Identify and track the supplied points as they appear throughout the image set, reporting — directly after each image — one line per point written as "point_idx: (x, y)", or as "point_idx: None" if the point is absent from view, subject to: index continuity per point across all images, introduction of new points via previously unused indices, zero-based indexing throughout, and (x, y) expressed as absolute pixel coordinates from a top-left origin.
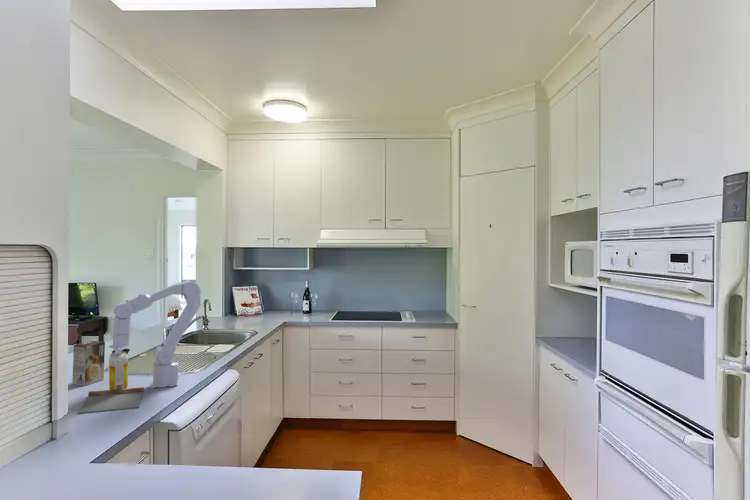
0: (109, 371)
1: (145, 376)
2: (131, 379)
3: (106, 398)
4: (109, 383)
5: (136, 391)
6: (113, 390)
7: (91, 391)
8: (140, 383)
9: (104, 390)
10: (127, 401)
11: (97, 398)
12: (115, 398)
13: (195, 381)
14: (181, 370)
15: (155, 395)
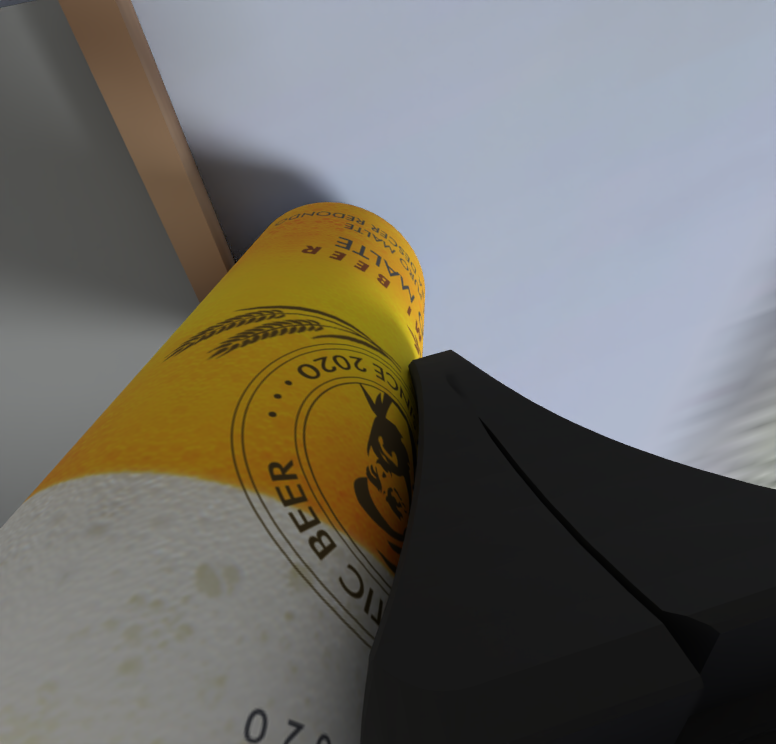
0: (155, 358)
1: (732, 318)
2: (695, 238)
3: (49, 274)
4: (254, 246)
5: None
6: (199, 297)
7: (114, 15)
8: (543, 357)
9: (186, 195)
10: (19, 475)
11: (22, 171)
12: (74, 356)
13: None
14: (758, 475)
15: None
